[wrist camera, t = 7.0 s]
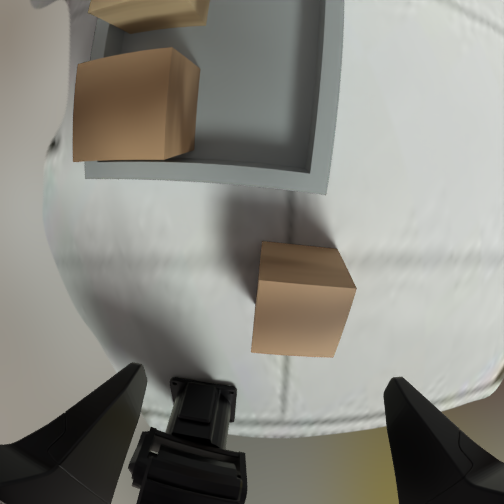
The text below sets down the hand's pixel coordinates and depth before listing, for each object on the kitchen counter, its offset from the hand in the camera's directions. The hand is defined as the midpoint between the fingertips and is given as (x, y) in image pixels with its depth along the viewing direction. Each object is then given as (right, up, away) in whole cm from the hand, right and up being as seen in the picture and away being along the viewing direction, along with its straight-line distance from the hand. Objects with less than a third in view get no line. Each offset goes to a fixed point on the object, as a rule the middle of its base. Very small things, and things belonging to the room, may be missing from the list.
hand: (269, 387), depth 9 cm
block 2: (-6, +13, +6) cm, 16 cm away
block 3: (+2, +3, +10) cm, 11 cm away
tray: (-3, +16, +4) cm, 17 cm away
